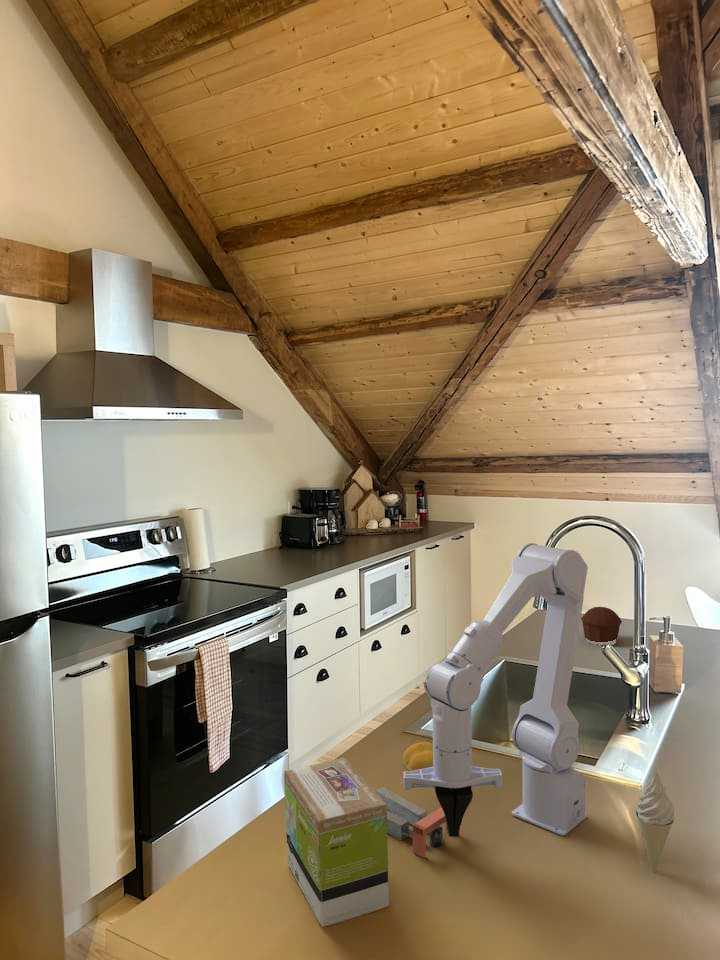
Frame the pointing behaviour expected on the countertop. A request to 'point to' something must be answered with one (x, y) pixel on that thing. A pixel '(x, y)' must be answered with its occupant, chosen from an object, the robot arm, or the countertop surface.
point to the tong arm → (401, 806)
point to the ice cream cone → (655, 819)
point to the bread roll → (419, 756)
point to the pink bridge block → (426, 830)
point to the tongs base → (410, 830)
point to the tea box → (336, 840)
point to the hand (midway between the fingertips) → (453, 832)
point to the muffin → (601, 624)
